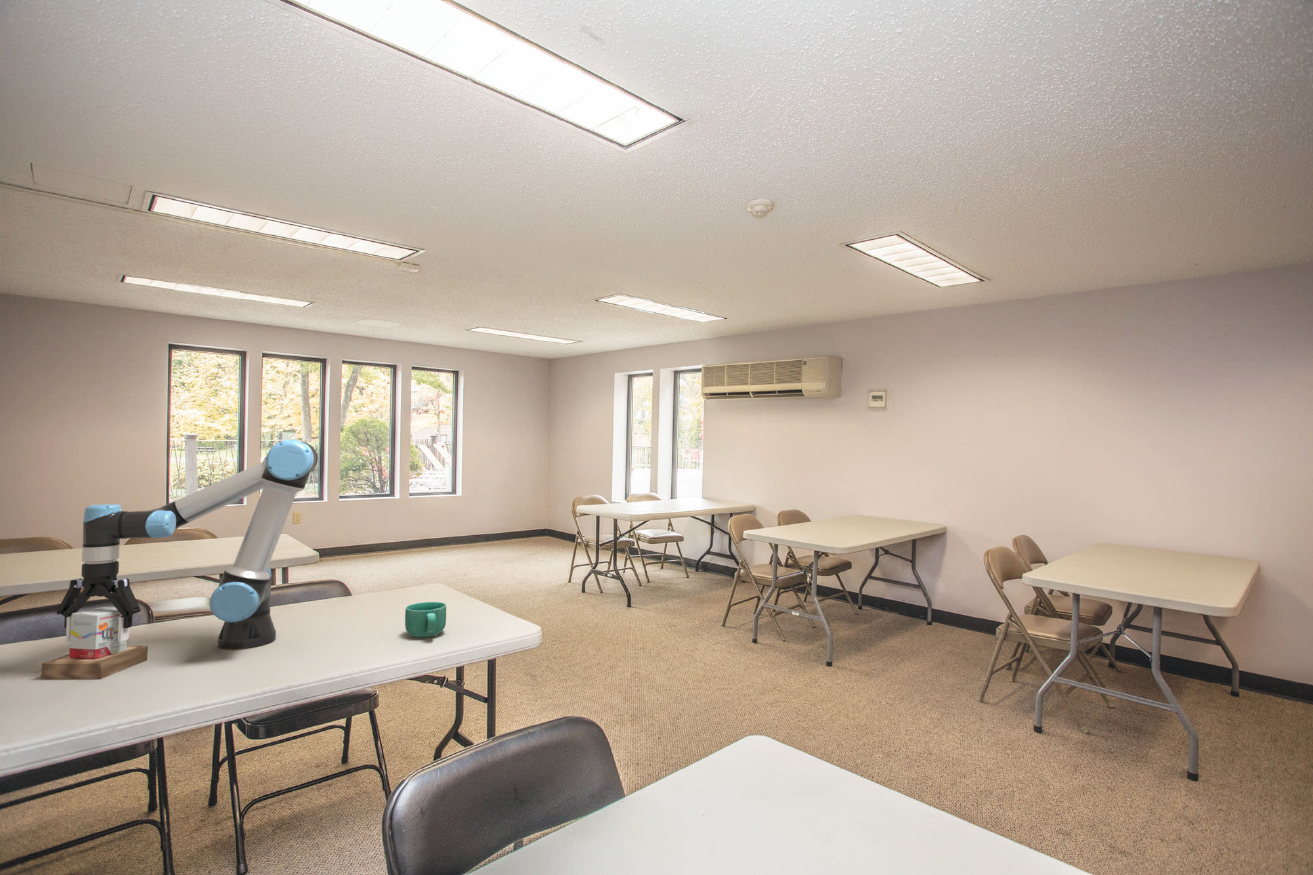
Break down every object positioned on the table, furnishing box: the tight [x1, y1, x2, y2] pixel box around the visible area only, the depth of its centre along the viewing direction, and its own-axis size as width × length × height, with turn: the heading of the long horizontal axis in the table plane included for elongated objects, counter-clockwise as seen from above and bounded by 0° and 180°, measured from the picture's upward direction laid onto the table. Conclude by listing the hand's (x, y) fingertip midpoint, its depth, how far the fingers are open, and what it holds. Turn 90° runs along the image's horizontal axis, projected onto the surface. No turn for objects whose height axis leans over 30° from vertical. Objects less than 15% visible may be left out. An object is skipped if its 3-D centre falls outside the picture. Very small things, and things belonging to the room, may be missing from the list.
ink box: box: [69, 606, 128, 659], centre depth 166 cm, size 9×9×12 cm
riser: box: [40, 645, 149, 680], centre depth 166 cm, size 15×15×4 cm
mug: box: [404, 601, 447, 639], centre depth 198 cm, size 17×13×10 cm
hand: (97, 640), depth 166 cm, fingers open, 13 cm apart
